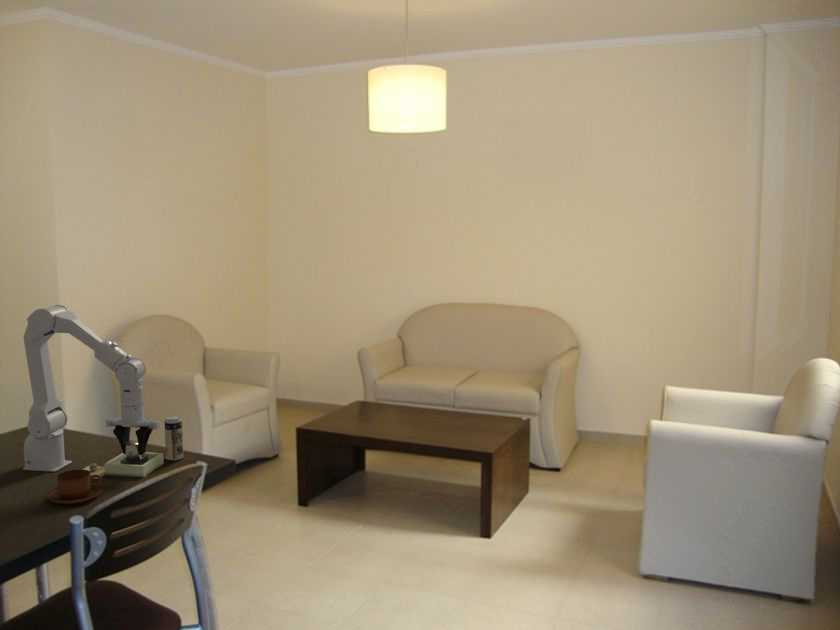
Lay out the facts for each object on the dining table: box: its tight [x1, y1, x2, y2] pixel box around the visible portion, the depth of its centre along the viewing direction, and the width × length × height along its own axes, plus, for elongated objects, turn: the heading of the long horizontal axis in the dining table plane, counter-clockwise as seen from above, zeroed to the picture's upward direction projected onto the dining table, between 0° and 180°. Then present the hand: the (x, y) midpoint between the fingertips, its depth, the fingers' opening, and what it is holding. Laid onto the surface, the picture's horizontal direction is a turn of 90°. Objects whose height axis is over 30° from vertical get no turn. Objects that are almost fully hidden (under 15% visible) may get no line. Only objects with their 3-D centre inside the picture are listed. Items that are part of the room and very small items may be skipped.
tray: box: [103, 451, 165, 478], centre depth 204 cm, size 11×11×3 cm
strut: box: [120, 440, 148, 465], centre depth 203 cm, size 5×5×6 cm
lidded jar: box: [163, 415, 184, 462], centre depth 212 cm, size 5×5×12 cm
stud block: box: [81, 462, 106, 480], centre depth 200 cm, size 7×7×3 cm
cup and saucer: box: [46, 468, 103, 505], centre depth 183 cm, size 12×12×6 cm
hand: (134, 453), depth 203 cm, fingers closed on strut, 4 cm apart
